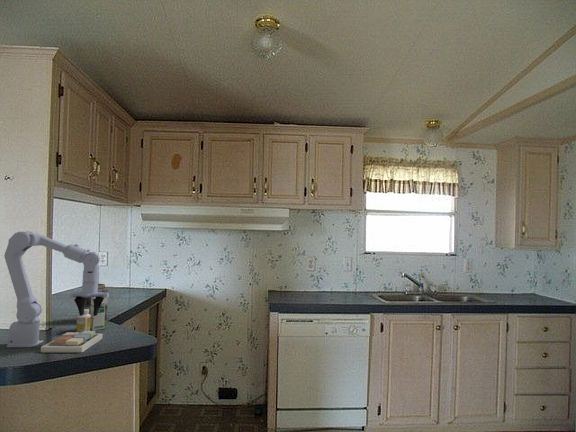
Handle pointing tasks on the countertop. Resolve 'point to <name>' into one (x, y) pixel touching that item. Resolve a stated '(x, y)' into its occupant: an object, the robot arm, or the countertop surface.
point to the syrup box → (99, 316)
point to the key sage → (88, 333)
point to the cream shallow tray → (71, 346)
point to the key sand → (74, 341)
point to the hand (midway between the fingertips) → (88, 315)
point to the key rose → (71, 334)
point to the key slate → (82, 336)
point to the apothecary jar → (88, 299)
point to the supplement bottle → (83, 322)
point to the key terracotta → (62, 339)
